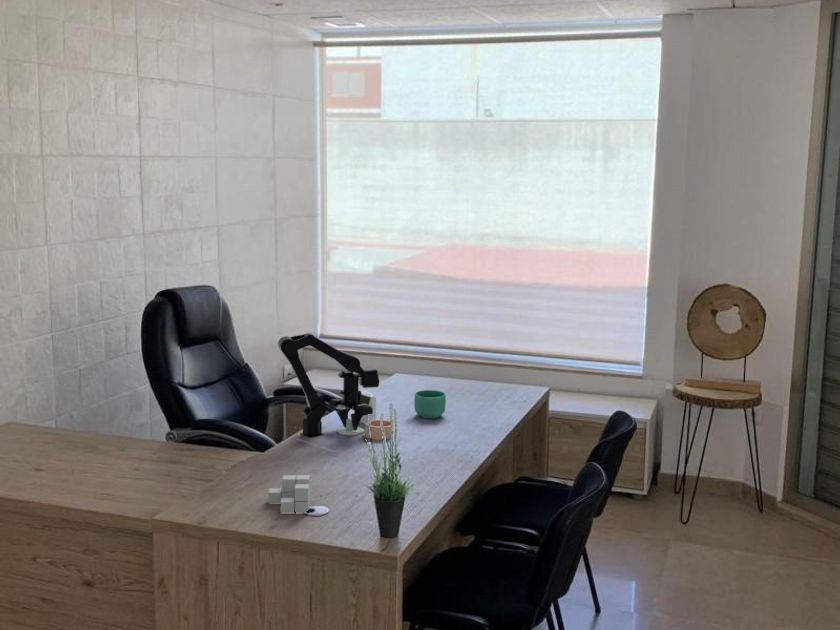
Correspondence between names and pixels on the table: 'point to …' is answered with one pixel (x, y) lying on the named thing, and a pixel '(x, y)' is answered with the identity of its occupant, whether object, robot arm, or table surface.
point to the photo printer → (371, 403)
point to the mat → (346, 435)
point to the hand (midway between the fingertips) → (350, 428)
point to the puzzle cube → (292, 493)
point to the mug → (430, 403)
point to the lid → (349, 429)
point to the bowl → (378, 429)
